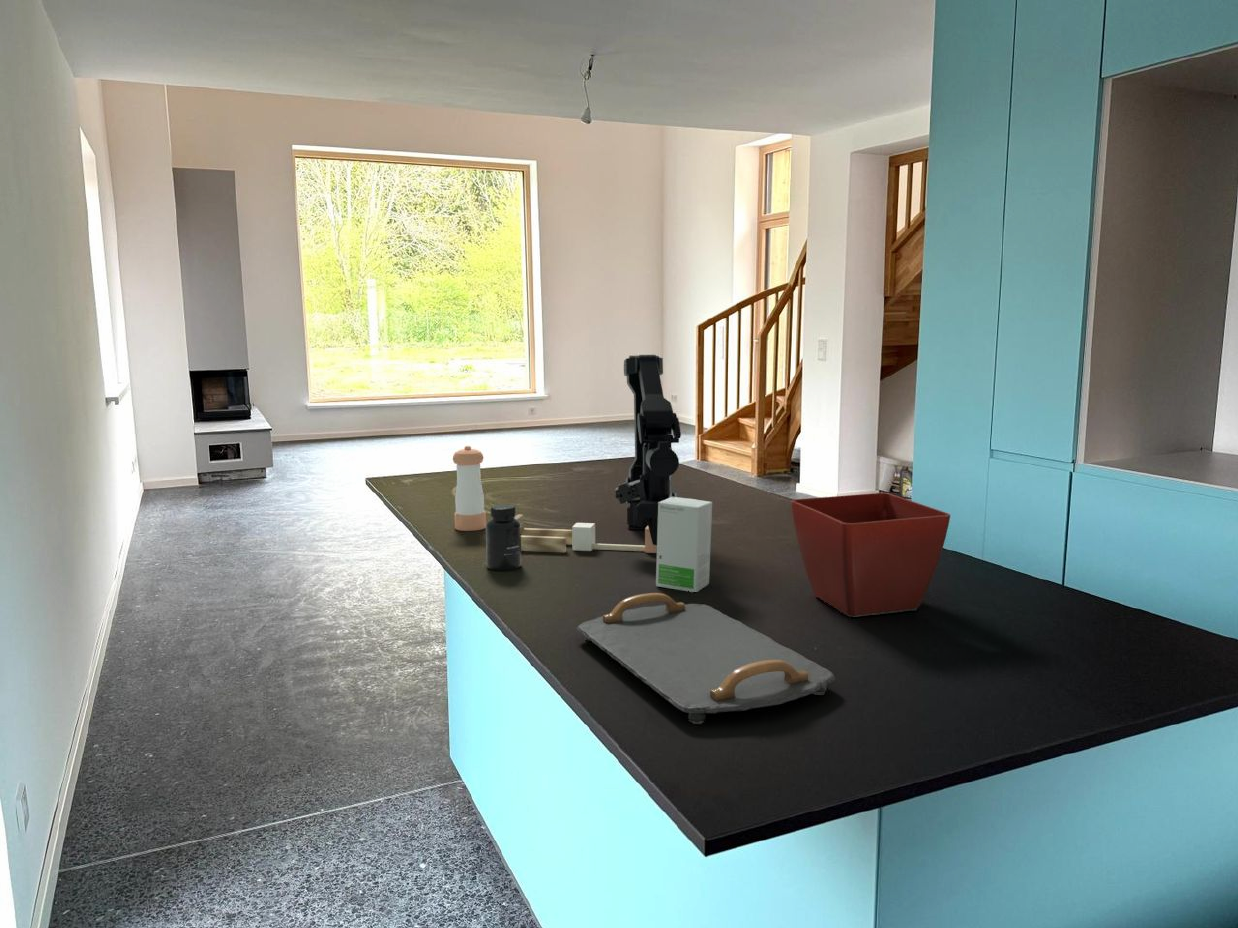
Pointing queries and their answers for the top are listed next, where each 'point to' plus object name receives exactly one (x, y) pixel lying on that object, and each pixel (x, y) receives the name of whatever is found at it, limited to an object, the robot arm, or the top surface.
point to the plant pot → (869, 550)
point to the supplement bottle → (503, 539)
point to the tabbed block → (586, 542)
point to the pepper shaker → (469, 491)
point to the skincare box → (683, 544)
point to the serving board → (702, 657)
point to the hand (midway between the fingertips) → (656, 542)
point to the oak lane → (544, 538)
